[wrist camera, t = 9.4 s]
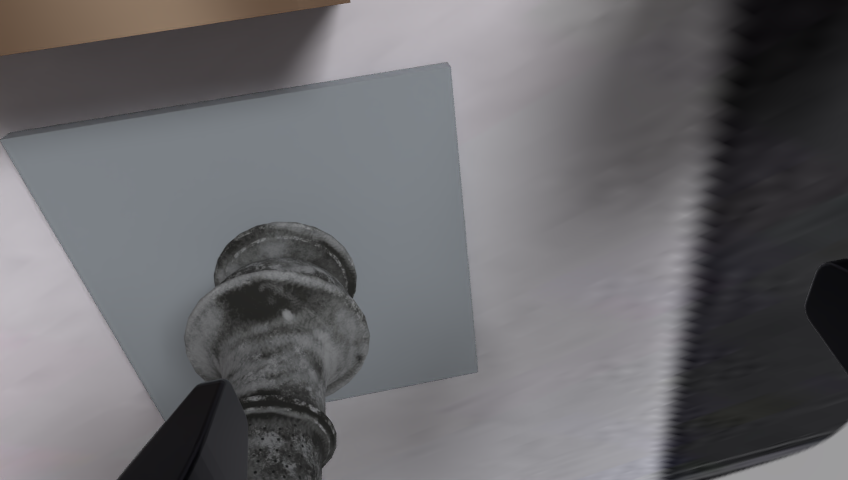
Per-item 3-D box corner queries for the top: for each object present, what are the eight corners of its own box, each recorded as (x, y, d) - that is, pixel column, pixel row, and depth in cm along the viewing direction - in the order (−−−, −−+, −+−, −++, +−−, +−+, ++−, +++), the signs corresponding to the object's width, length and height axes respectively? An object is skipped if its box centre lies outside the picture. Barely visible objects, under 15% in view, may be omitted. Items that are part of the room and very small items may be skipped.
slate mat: (447, 62, 18) (450, 67, 17) (475, 362, 25) (478, 372, 25) (9, 132, 17) (-1, 140, 16) (175, 421, 24) (171, 432, 24)
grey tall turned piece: (302, 359, 23) (279, 722, 13) (174, 292, 20) (15, 684, 10) (395, 270, 21) (454, 608, 11) (269, 183, 18) (192, 525, 8)
